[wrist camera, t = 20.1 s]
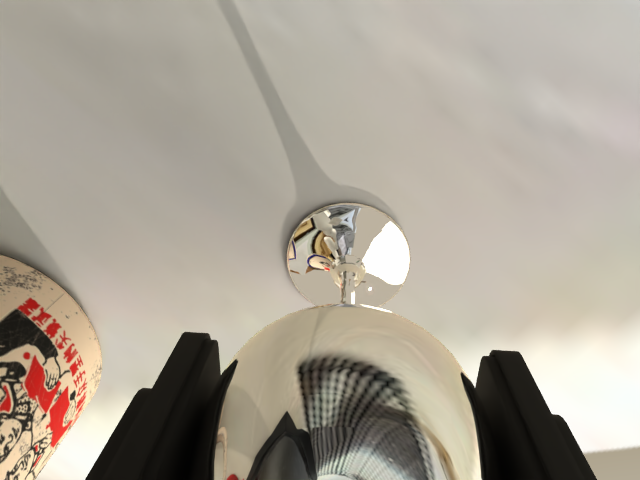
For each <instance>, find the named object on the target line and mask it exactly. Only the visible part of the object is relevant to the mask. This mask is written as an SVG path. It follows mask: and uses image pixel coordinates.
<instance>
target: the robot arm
mask: <svg viewBox="0 0 640 480" xmlns="http://www.w3.org/2000/svg"><path fill="white" fill-rule="evenodd" d="M220 376H221V374H220V361H219V348H218V342H217V340H211V338H210V335H209V334H208V333H193V332H184V333H183V334H182V335H181V337H180V339H179V341H178V343H177V344H176V346H175V348H174V350H173V352H172V353H171V355H170V357H169V359H168V361H167V362H166V364H165V366H164V368H163V370H162V371H161V373H160V375H159V377H158V379H157V380H156V382H155V384H154V386H153V388H152V389H150V388H142V389H140V390H139V391H138V392H137V393H136V395H135V396H134V398H133V400H132V401H131V403H130V405H129V406H128V408H127V410H126V411H125V413H124V415H123V416H122V418H121V420H120V422H119V423H118V425H117V427H116V428H115V430H114V432H113V433H112V435H111V437H110V438H109V440H108V442H107V444H106V445H105V447H104V449H103V450H102V452H101V454H100V455H99V457H98V459H97V461H96V462H95V464H94V466H93V467H92V469H91V471H90V472H89V474H88V476H87V477H86V479H85V480H185V476H186V471H187V467H188V463H189V459H190V455H191V451H192V447H193V443H194V439H195V435H196V431H197V428H198V425H199V423H200V420H201V417H202V415H203V412H204V409H205V407H206V404H207V401H208V399H209V397H210V395H211V393H212V391H213V389H214V387H215V385H216V383H217V382H218V380H219V378H220ZM475 389H476V391H477V393H478V395H479V397H480V399H481V401H482V403H483V405H484V407H485V410H486V412H487V414H488V417H489V420H490V423H491V426H492V430H493V433H494V436H495V440H496V443H497V446H498V450H499V453H500V456H501V460H502V465H503V470H504V475H505V480H597V479H596V477H595V475H594V473H593V471H592V470H591V468H590V466H589V464H588V462H587V460H586V458H585V457H584V455H583V453H582V451H581V449H580V447H579V445H578V444H577V442H576V440H575V438H574V436H573V434H572V432H571V430H570V429H569V427H568V425H567V423H566V422H565V420H564V419H563V418H562V417H561V416H559V415H553V414H551V412H550V410H549V408H548V406H547V404H546V402H545V400H544V398H543V396H542V394H541V392H540V390H539V388H538V386H537V385H536V383H535V381H534V379H533V377H532V375H531V373H530V371H529V369H528V367H527V365H526V363H525V361H524V359H523V357H522V355H521V354H520V353H519V352H517V351H501V350H492V351H491V353H490V355H489V356H483V357H482V359H481V362H480V367H479V372H478V377H477V382H476V387H475Z"/></svg>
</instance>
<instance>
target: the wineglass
mask: <svg viewBox="0 0 640 480" xmlns="http://www.w3.org/2000/svg"><path fill="white" fill-rule="evenodd" d="M410 261H411V257H410V248H409V245H408V241H407V238H406V236H405V235H404V233H403V231H402V229H401V228H400V227H399V225H398V224H397V223H396V222H395V221H394V220H393V219H392V218H391V217H389V216H388V215H387V214H385V213H383V212H382V211H380V210H378V209H376V208H374V207H371V206H367V205H363V204H359V203H338V204H333V205H328V206H325V207H323V208H321V209H319V210H316V211H314V212H313V213H311V214H310V215H309V216H307V217H306V218H305V219H303V221H302V222H301V223H300V224H299V225H298V227H297V228H296V229H295V231H294V233H293V235H292V236H291V238H290V240H289V245H288V249H287V267H288V271H289V275H290V277H291V280H292V282H293V283H294V285H295V287H296V288H297V290H298V291H299V292H300V293H301V294H302V295H303V296H304V297H305V298H306V299H307V300H308V301H310V302H311V303H313V304H314V305H316V306H314V307H308V308H305V309H302V310H299V311H296V312H293V313H290V314H287V315H286V316H284V317H282V318H280V319H278V320H276V321H274V322H273V323H271V324H269V325H267V326H266V327H264V328H263V329H262V330H260V331H259V332H258V333H256V334H255V335H254V336H253V337H252V338H250V339H249V340H248V341H247V342H246V344H245V345H244V346H243V347H242V348H241V349H240V350H239V351H238V352H237V353H236V354H235V355H234V357H233V358H232V360H231V361H230V363H229V364H228V366H227V367H226V369H225V370H224V372H223V373H222V375H221V376H220V378H219V380H218V382H217V383H216V385H215V387H214V389H213V391H212V393H211V395H210V397H209V399H208V401H207V404H206V407H205V409H204V412H203V415H202V417H201V420H200V423H199V425H198V428H197V431H196V435H195V439H194V443H193V447H192V451H191V455H190V459H189V463H188V467H187V471H186V476H185V480H505V475H504V470H503V465H502V460H501V456H500V453H499V450H498V446H497V443H496V440H495V436H494V433H493V430H492V426H491V423H490V420H489V417H488V414H487V412H486V410H485V407H484V405H483V403H482V401H481V399H480V397H479V395H478V393H477V391H476V389H475V388H474V386H473V384H472V382H471V380H470V379H469V377H468V375H467V374H466V373H465V371H464V370H463V368H462V367H461V366H460V364H459V363H458V361H457V360H456V358H455V357H454V356H453V354H452V353H451V352H450V351H449V350H448V349H447V348H446V347H445V346H444V345H443V344H442V343H441V342H440V341H439V340H438V339H437V338H435V337H434V336H433V335H432V334H430V333H429V332H428V331H427V330H425V329H424V328H423V327H421V326H419V325H417V324H415V323H414V322H412V321H410V320H408V319H406V318H404V317H402V316H400V315H398V314H395V313H393V312H391V311H388V310H384V309H381V308H378V307H380V306H382V305H384V304H385V303H387V302H388V301H389V300H391V299H392V298H393V297H394V296H395V295H396V294H397V293H398V292H399V290H400V289H401V288H402V286H403V284H404V283H405V281H406V278H407V276H408V273H409V269H410Z"/></svg>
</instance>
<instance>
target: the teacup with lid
mask: <svg viewBox="0 0 640 480" xmlns="http://www.w3.org/2000/svg"><path fill="white" fill-rule="evenodd" d="M101 370H102V357H101V350H100V346H99V342H98V339H97V336H96V334H95V331H94V329H93V327H92V325H91V323H90V321H89V320H88V318H87V316H86V315H85V313H84V312H83V310H82V309H81V308H80V306H79V305H78V304H77V303H76V302H75V300H74V299H73V298H72V297H71V296H70V295H69V294H68V293H67V292H66V291H65V290H64V289H62V288H61V287H60V286H59V285H58V284H57V283H55V282H54V281H53V280H51V279H50V278H49V277H47V276H46V275H44V274H42V273H41V272H39V271H38V270H36V269H34V268H32V267H30V266H28V265H26V264H24V263H22V262H20V261H17V260H14V259H12V258H9V257H6V256H3V255H0V480H35V479H36V477H37V476H38V474H39V473H40V472H41V470H42V469H43V467H44V466H45V464H46V463H47V462H48V460H49V459H50V457H51V456H52V454H53V453H54V452H55V450H56V449H57V447H58V446H59V445H60V443H61V442H62V440H63V439H64V437H65V436H66V435H67V433H68V432H69V430H70V429H71V427H72V426H73V425H74V423H75V422H76V420H77V419H78V418H79V416H80V415H81V413H82V412H83V410H84V409H85V408H86V406H87V405H88V403H89V402H90V400H91V399H92V397H93V395H94V394H95V392H96V390H97V387H98V385H99V381H100V377H101Z"/></svg>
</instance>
